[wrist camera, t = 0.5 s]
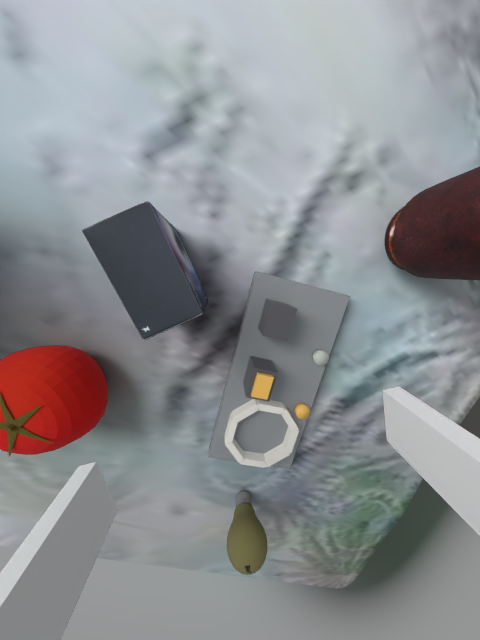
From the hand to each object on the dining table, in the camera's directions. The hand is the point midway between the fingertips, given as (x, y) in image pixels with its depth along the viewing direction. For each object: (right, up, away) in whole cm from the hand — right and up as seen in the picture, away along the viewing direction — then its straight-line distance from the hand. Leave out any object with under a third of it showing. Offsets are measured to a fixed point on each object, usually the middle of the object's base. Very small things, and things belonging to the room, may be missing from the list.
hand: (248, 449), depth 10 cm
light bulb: (0, -24, +28) cm, 36 cm away
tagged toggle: (+2, -1, +21) cm, 21 cm away
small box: (-9, +12, +19) cm, 25 cm away
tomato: (-23, -2, +21) cm, 31 cm away
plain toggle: (+4, +6, +19) cm, 20 cm away
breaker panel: (+4, -2, +23) cm, 24 cm away
